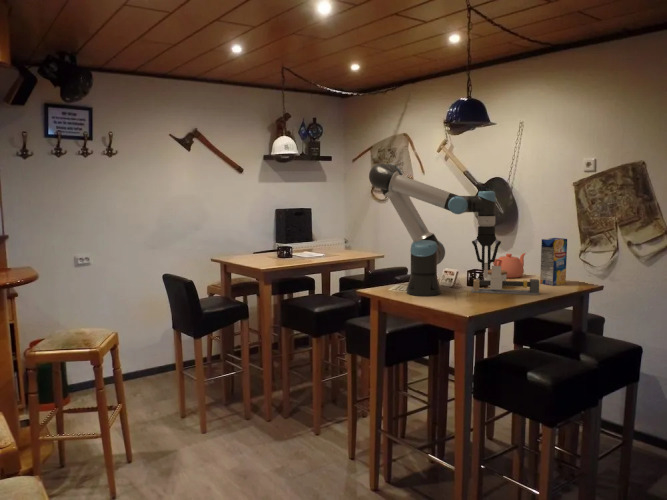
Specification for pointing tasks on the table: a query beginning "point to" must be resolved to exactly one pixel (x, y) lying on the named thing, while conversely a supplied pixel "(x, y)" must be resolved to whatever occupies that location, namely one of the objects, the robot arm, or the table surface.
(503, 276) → the lidded jar
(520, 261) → the teapot
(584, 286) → the table surface
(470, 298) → the table surface
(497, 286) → the grey upright block
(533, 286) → the cord rig
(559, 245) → the beverage box
